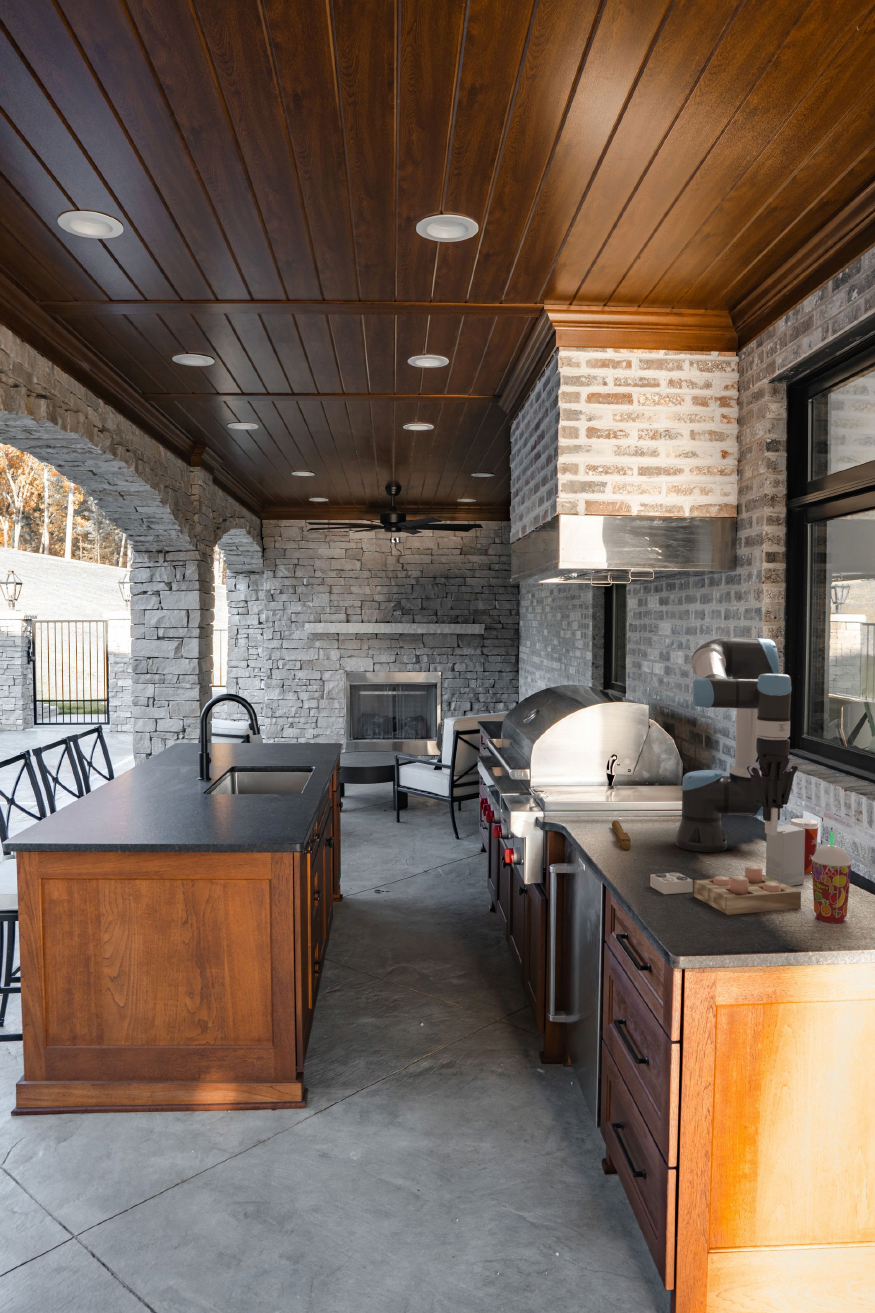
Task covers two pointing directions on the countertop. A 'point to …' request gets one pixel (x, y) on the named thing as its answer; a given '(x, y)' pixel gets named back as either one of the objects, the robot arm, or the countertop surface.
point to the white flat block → (671, 883)
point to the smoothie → (831, 882)
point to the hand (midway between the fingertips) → (771, 833)
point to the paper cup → (808, 839)
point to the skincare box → (786, 855)
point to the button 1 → (721, 881)
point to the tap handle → (621, 835)
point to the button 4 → (771, 887)
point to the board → (747, 897)
